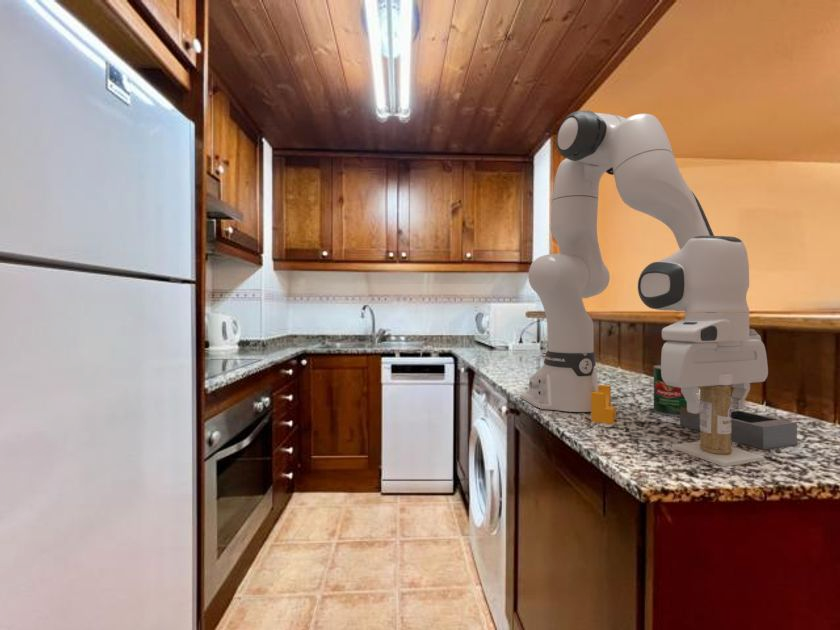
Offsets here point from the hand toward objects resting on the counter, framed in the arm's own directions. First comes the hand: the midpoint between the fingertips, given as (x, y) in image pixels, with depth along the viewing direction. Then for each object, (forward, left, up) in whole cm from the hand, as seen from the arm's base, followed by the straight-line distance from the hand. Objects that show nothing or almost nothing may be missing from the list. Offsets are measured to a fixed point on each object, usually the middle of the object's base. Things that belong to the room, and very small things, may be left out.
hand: (716, 410), depth 68 cm
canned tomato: (-24, +18, -8) cm, 31 cm away
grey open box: (-7, +14, -7) cm, 17 cm away
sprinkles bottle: (0, 0, -7) cm, 7 cm away
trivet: (0, 0, -7) cm, 7 cm away
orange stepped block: (-26, 0, -8) cm, 27 cm away
